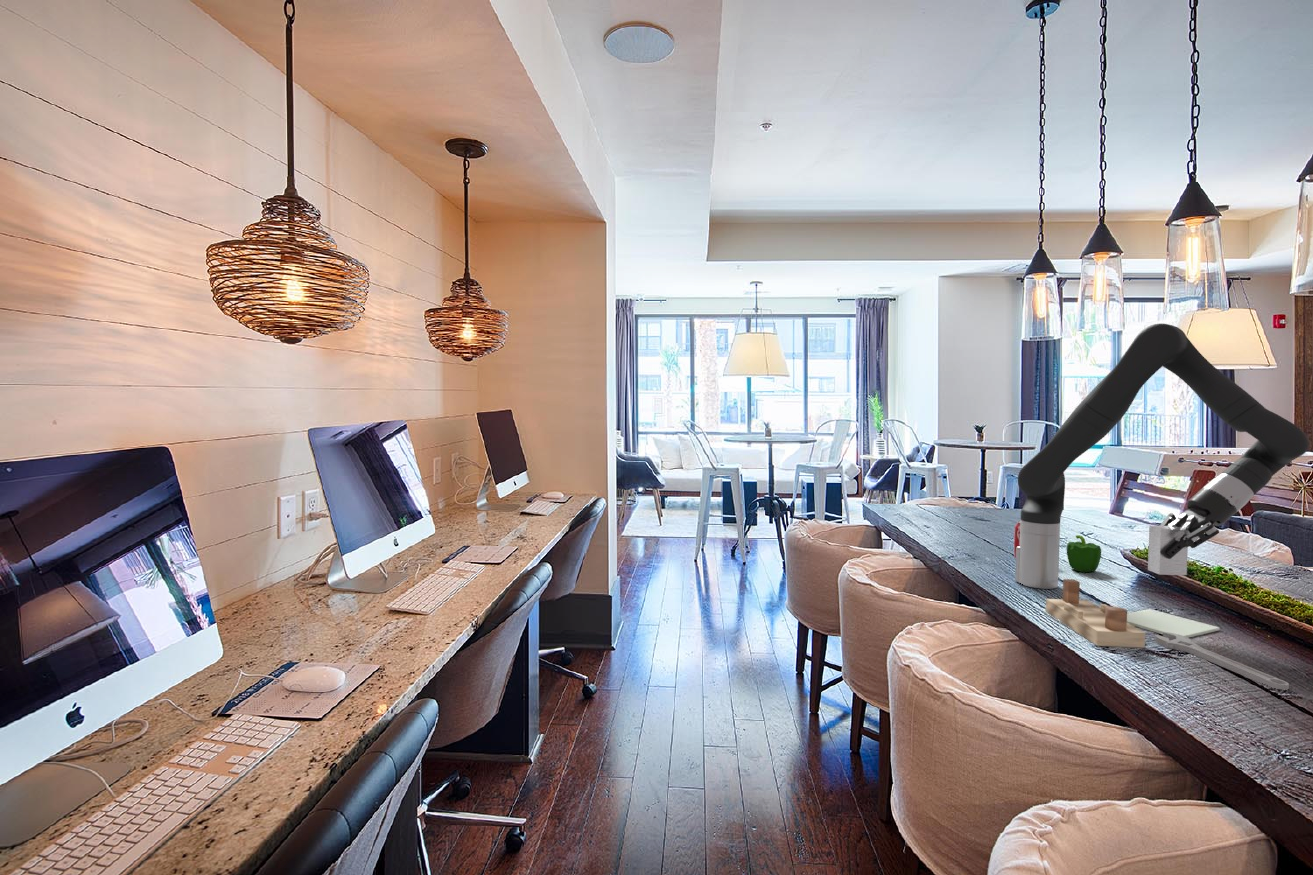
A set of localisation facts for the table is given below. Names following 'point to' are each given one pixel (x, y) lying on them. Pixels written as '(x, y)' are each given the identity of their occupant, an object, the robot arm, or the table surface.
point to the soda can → (1017, 537)
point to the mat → (1168, 623)
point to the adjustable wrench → (1218, 659)
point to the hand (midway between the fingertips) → (1158, 553)
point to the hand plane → (1094, 619)
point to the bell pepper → (1083, 555)
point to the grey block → (1157, 543)
